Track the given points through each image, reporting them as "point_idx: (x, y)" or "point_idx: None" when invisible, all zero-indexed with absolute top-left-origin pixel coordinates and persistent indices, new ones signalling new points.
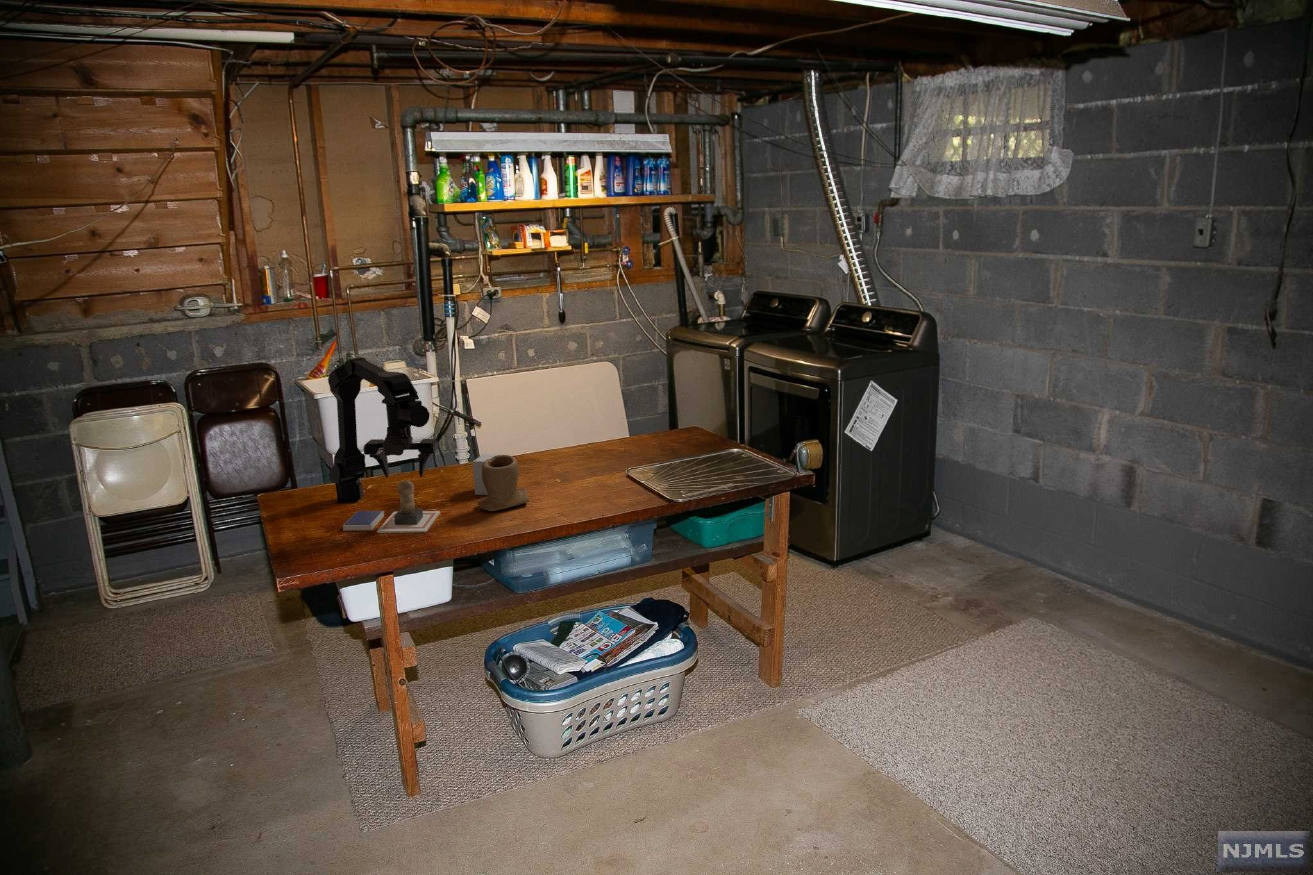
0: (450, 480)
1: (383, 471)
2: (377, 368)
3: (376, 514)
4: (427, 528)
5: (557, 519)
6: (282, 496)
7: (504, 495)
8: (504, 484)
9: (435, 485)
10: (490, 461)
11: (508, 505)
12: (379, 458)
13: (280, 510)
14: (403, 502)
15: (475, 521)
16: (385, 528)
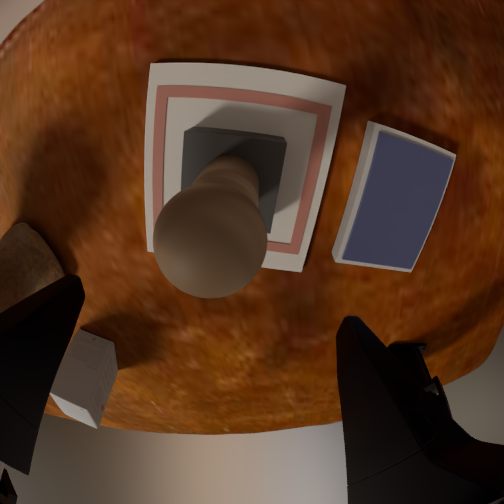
0: (198, 405)
1: (389, 353)
2: None
3: (360, 227)
4: (148, 88)
5: None
6: (474, 362)
7: None
8: None
9: (221, 396)
10: None
11: (1, 238)
12: (472, 466)
13: (501, 312)
14: (235, 174)
15: (39, 164)
16: (316, 102)
